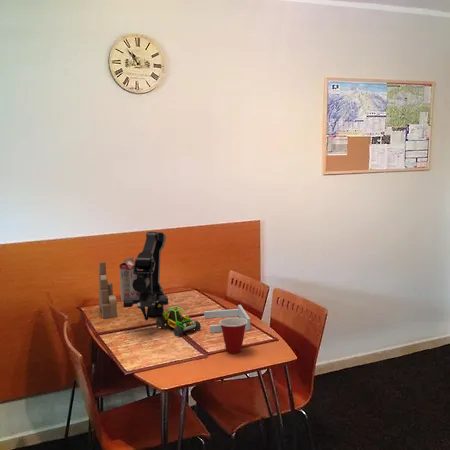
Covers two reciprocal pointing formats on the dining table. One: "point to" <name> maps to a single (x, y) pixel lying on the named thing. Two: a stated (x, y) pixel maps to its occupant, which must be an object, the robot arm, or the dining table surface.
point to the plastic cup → (233, 333)
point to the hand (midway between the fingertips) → (146, 320)
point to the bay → (227, 313)
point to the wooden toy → (106, 295)
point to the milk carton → (128, 279)
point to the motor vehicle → (177, 321)
